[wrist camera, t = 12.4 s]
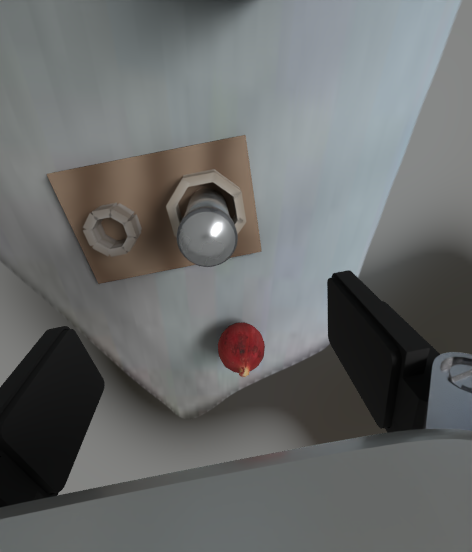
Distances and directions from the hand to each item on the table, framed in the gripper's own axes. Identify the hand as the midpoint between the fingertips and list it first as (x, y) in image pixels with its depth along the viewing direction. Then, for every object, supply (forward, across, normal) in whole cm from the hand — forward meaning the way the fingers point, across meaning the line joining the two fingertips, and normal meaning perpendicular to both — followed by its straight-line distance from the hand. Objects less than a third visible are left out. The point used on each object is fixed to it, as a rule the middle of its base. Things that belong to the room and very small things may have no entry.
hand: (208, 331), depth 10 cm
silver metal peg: (+20, 0, 0) cm, 20 cm away
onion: (+22, 0, +17) cm, 28 cm away
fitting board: (+21, +5, 0) cm, 22 cm away
